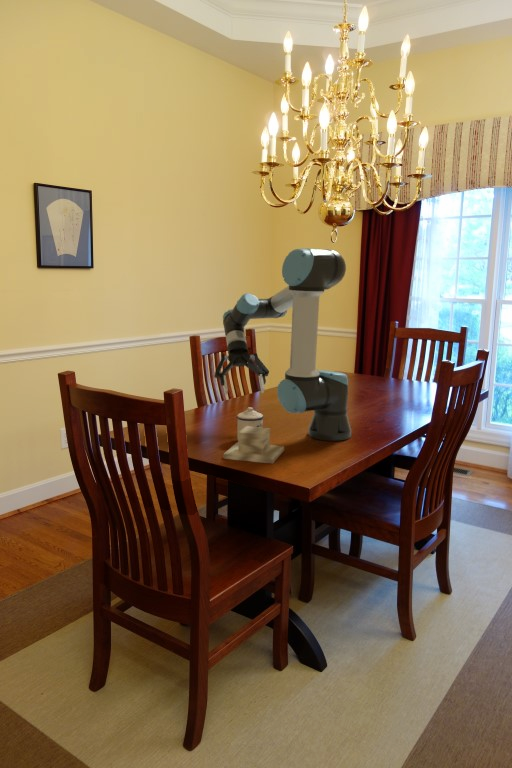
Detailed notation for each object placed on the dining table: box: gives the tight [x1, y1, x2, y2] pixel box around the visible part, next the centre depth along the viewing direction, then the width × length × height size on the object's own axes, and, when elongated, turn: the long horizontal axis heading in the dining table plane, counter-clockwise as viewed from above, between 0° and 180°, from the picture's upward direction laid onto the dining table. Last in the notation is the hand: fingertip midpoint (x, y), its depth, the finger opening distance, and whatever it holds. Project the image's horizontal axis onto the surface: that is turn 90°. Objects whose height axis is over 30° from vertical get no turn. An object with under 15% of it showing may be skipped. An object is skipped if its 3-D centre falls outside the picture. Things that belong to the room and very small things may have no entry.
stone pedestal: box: [222, 426, 285, 465], centre depth 185 cm, size 16×14×8 cm
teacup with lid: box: [236, 406, 264, 442], centre depth 201 cm, size 12×9×12 cm
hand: (244, 391), depth 210 cm, fingers open, 13 cm apart
